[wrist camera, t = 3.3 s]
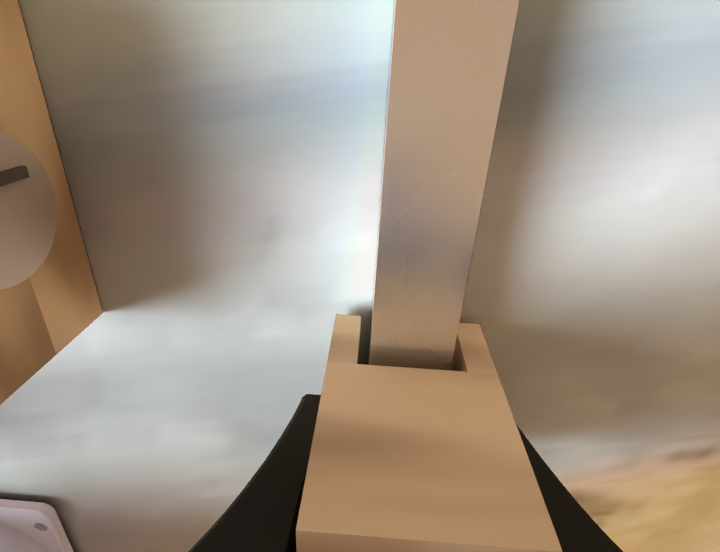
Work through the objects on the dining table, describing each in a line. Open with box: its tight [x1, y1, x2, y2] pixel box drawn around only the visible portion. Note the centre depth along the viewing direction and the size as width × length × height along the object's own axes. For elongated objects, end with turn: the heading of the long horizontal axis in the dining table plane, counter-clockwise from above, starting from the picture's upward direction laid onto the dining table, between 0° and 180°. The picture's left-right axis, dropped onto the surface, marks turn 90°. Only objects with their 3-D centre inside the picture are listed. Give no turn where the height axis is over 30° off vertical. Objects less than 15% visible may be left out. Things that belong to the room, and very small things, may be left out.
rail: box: [368, 0, 519, 371], centre depth 10 cm, size 16×3×4 cm, turn 177°
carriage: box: [296, 314, 563, 552], centre depth 10 cm, size 5×4×6 cm
